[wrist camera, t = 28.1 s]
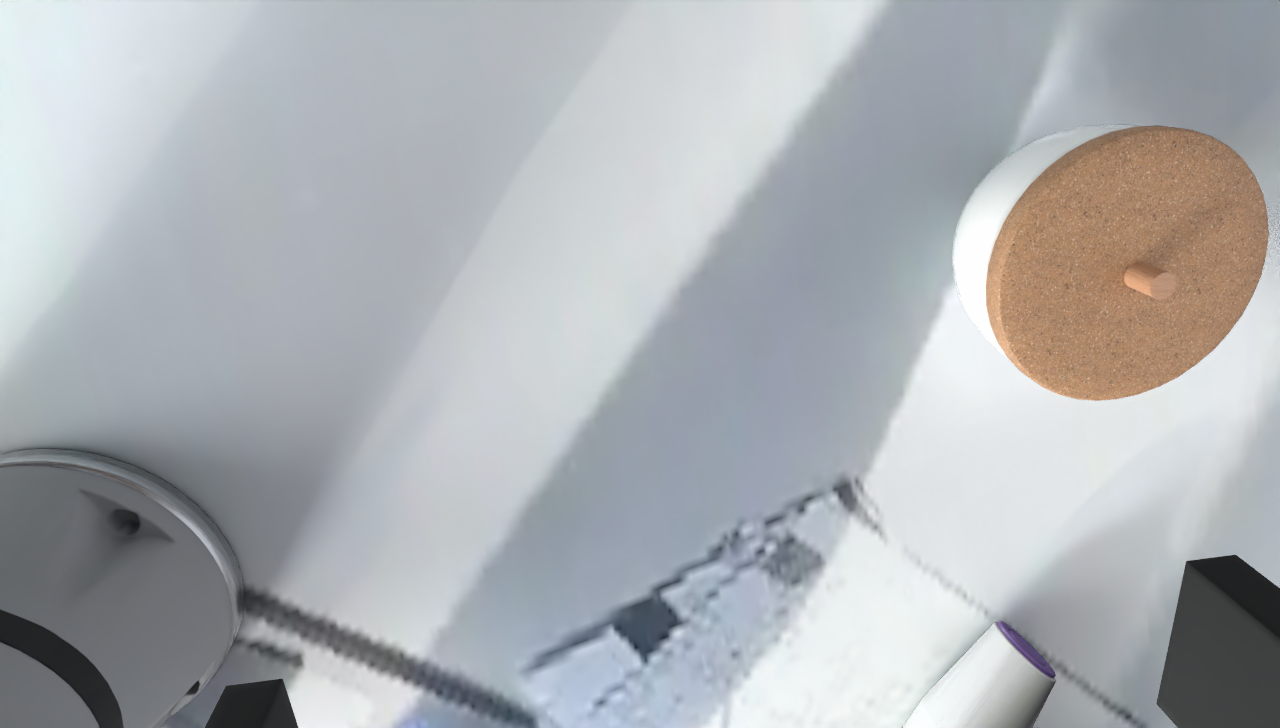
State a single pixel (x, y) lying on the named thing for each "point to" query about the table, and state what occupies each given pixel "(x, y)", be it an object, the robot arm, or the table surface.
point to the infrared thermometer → (989, 686)
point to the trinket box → (1111, 255)
